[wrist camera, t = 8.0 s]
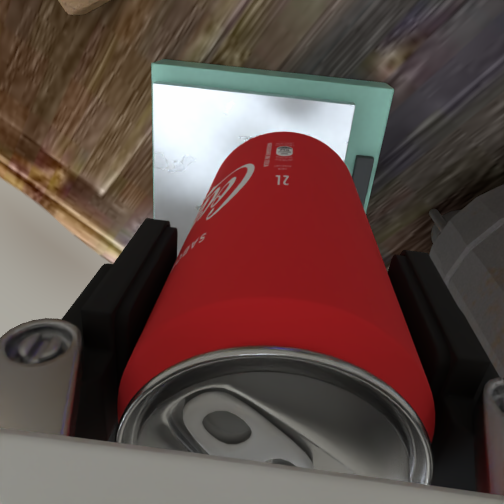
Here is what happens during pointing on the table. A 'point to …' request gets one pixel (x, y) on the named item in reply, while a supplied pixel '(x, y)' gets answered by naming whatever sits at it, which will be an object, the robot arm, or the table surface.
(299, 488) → the robot arm
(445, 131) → the table surface
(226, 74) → the scale
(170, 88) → the scale pan
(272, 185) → the beverage can
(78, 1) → the candle holder
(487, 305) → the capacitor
